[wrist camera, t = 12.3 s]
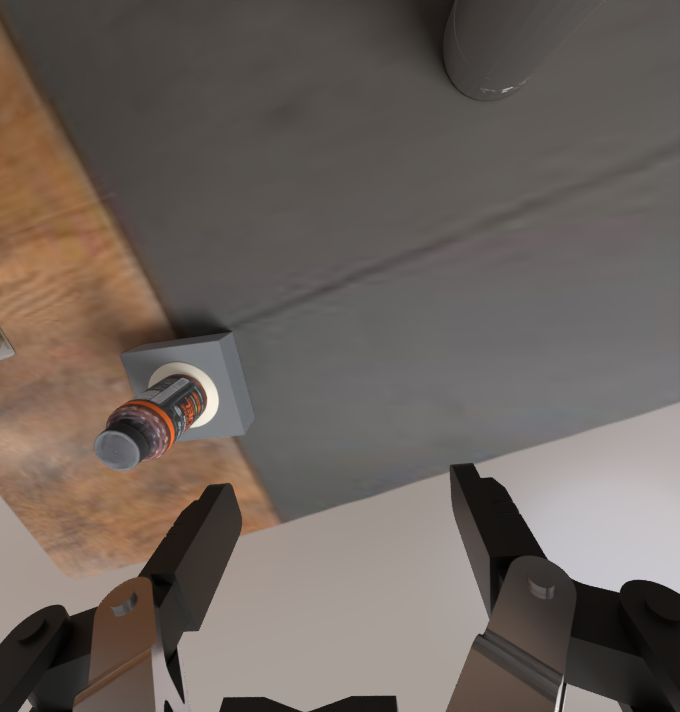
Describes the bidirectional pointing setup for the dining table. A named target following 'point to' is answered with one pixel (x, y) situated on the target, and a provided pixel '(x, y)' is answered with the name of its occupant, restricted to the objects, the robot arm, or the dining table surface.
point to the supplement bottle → (150, 422)
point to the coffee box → (5, 347)
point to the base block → (198, 379)
